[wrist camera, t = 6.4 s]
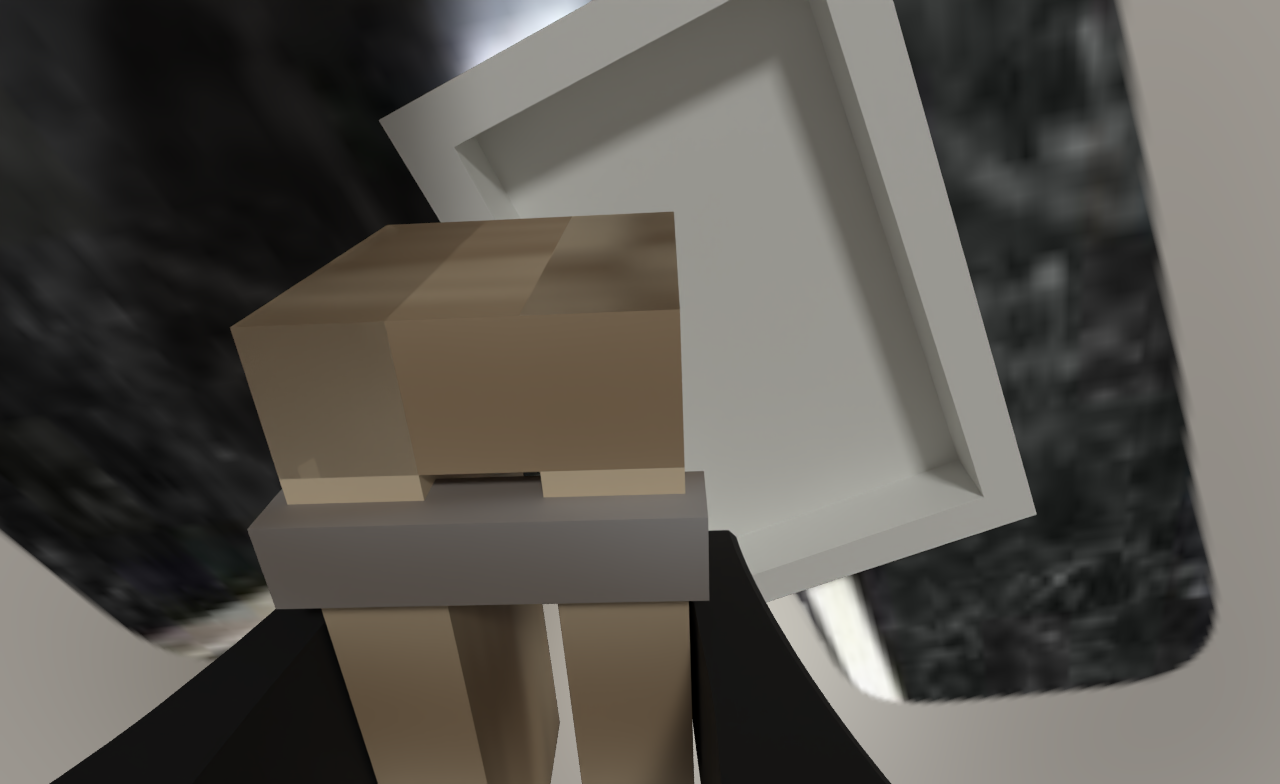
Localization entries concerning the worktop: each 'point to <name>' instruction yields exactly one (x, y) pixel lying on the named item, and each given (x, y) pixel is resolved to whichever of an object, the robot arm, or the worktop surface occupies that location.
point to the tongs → (490, 492)
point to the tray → (763, 258)
